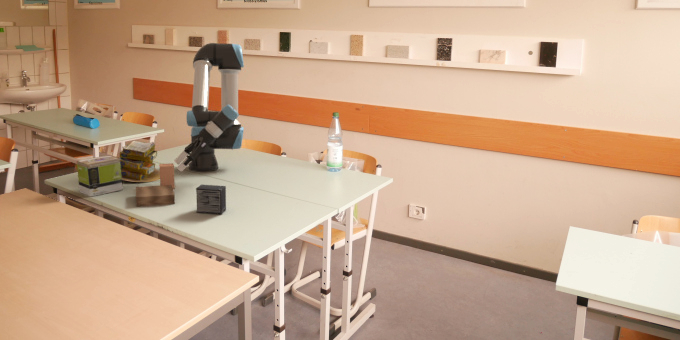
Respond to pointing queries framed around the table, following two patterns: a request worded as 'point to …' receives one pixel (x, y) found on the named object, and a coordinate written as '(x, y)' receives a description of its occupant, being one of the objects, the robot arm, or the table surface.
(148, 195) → the walnut plinth
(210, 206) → the small box
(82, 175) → the tea box
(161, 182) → the terracotta block
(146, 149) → the stacked packets on plate
